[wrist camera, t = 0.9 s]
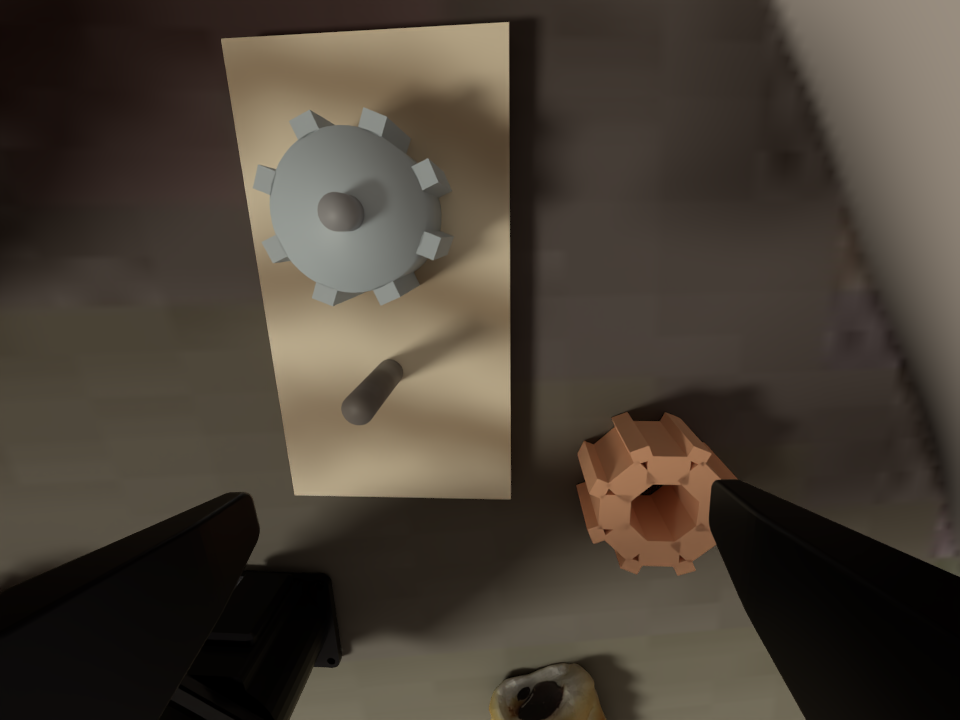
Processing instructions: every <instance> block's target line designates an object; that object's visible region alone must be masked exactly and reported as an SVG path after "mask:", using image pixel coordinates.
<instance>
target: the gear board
mask: <svg viewBox="0 0 960 720" xmlns="http://www.w3.org/2000/svg"><path fill="white" fill-rule="evenodd" d="M221 42H222V49H223V55H224V61H225V67H226V73H227V80H228V86H229V92H230V98H231V104H232V110H233V117H234V123H235V129H236V135H237V141H238V148H239V154H240V160H241V166H242V172H243V178H244V185H245V191H246V197H247V203H248V209H249V216H250V222H251V228H252V234H253V240H254V247H255V253H256V259H257V265H258V271H259V277H260V284H261V290H262V296H263V302H264V308H265V315H266V321H267V327H268V333H269V339H270V346H271V352H272V358H273V364H274V370H275V376H276V383H277V389H278V395H279V401H280V407H281V414H282V420H283V426H284V432H285V438H286V444H287V451H288V457H289V463H290V469H291V475H292V482H293V488H294V494H295V495H310V496H360V497H411V498H462V499H511V383H510V129H509V22H501V23H484V24H467V25H449V26H432V27H415V28H398V29H380V30H363V31H346V32H329V33H312V34H294V35H277V36H260V37H243V38H225V39H221ZM363 107H364V108H367V109H369V110H372V111H374V112H377V113H379V114H381V115H384V116H386V117H388V118H389V119H390V120H391V121H392V122H393V123H394V124H395V125H397V126H398V127H399V128H400V129H401V130H402V131H403V132H404V133H405V134H406V135H408V136H409V137H410V138H411V140H410V143H409V147H408V150H407V153H406V154H407V155H408V156H410V157H411V158H412V159H414V160H415V161H416V162H417V163H419V162H421V161H423V160H425V159H427V158H428V159H430V160H431V161H432V162H433V163H434V164H435V165H437V166H438V167H439V168H440V169H441V170H442V171H444V173H445V176H446V178H447V180H448V183H449V185H450V187H451V190H452V192H450V193H447V194H445V195H443V196H441V197H439V201H440V205H441V214H442V215H441V230H440V231H442V232H444V233H446V234H449V235H451V236H454V238H453V241H452V243H451V246H450V249H449V252H448V255H446V256H443V257H441V258H438V259H435V260H431V259H429V258H428V259H427V261H426V262H425V263H424V264H423V265H422V266H421V267H420V268H419V269H417V270H416V271H415V272H414V274H415V276H416V278H417V280H418V282H419V284H420V285H419V286H418V287H416V288H414V289H413V290H411V291H409V292H408V293H406V294H404V295H403V296H401V297H399V298H397V299H395V300H392V301H390V302H388V303H386V304H384V305H380V303H379V301H378V299H377V297H376V295H375V293H374V291H373V290H371V291H367V292H364V293H363V294H361V295H358V296H356V297H354V298H351V299H349V300H347V301H344V302H342V303H339V304H337V305H335V306H331V305H328V304H325V303H323V302H320V301H318V300H315V299H313V298H312V296H313V292H314V288H315V285H316V282H315V281H313V280H311V279H310V278H308V277H307V276H306V275H305V274H303V273H302V272H301V271H300V270H299V269H298V268H297V267H296V266H295V265H294V264H293V263H292V262H291V261H287V262H280V263H273V262H272V261H271V259H270V257H269V255H268V253H267V251H266V250H265V248H264V246H263V244H262V241H264V240H266V239H268V238H270V237H272V236H274V235H276V234H275V231H274V228H273V224H272V220H271V215H270V195H269V194H266V193H264V192H261V191H259V190H256V189H254V188H253V185H254V181H255V176H256V171H257V167H258V164H259V165H263V166H266V167H270V168H274V169H276V168H277V166H278V164H279V162H280V160H281V159H282V157H283V156H284V154H285V153H286V152H287V150H288V149H289V148H290V147H291V146H292V145H293V144H294V143H295V142H296V141H297V140H298V139H297V137H296V135H295V133H294V131H293V129H292V127H291V125H290V123H289V121H290V120H292V119H293V118H295V117H297V116H299V115H301V114H302V113H304V112H306V111H308V110H311V111H313V112H315V113H316V114H318V115H320V116H321V117H323V118H325V119H326V120H328V121H330V122H331V123H333V124H335V125H350V126H356V127H358V125H359V122H360V118H361V114H362V110H363Z"/></svg>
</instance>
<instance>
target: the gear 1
mask: <svg viewBox="0 0 960 720" xmlns="http://www.w3.org/2000/svg"><path fill="white" fill-rule="evenodd" d="M289 123H290V125H291V127H292V129H293V131H294V133H295V135H296V137H297V139H298V140H297V141H296V142H295V143H294V144H293V145H292V146H291V147H290V148H289V149H288V150H287V152H286V153H285V154H284V156H283V157H282V159H281V160H280V162H279V164H278V166H277V168H276V169H274V168H270V167H266V166H263V165H259V164H258V167H257V171H256V176H255V181H254V185H253V188H254V189H256V190H259V191H261V192H264V193H266V194H269V195H270V215H271V220H272V224H273V228H274V231H275V234H276V235H274V236H272V237H270V238H268V239H266V240H264V241H262V244H263V246H264V248H265V250H266V251H267V253H268V255H269V257H270V259H271V261H272V262H273V263H280V262H287V261H291V262H292V263H293V264H294V265H295V266H296V267H297V268H298V269H299V270H300V271H301V272H302V273H303V274H305V275H306V276H307V277H308V278H310V279H311V280H313V281H315V282H316V285H315V288H314V292H313V296H312V298H313V299H315V300H318V301H320V302H323V303H325V304H328V305H331V306H335V305H337V304H339V303H342V302H344V301H347V300H349V299H351V298H354V297H356V296H358V295H361V294H363V293H364V292H367V291H371V290H373V291H374V293H375V295H376V297H377V299H378V301H379V303H380V305H384V304H386V303H388V302H390V301H392V300H395V299H397V298H399V297H401V296H403V295H404V294H406V293H408V292H409V291H411V290H413V289H414V288H416V287H418V286H419V285H420V284H419V282H418V280H417V278H416V276H415V274H414V272H415V271H416V270H417V269H419V268H420V267H421V266H422V265H423V264H424V263H425V262H426V261H427V259H428V258H429V259H431V260H435V259H438V258H441V257H443V256H446V255H448V252H449V249H450V246H451V243H452V241H453V238H454V236H451V235H449V234H446V233H444V232H442V231H440V230H441V215H442V214H441V205H440V201H439V197H441V196H443V195H445V194H447V193H450V192H452V190H451V187H450V185H449V183H448V180H447V178H446V176H445V173H444V171H442V170H441V169H440V168H439V167H438V166H437V165H435V164H434V163H433V162H432V161H431V160H430V159H428V158H427V159H425V160H423V161H421V162H419V163H417V162H416V161H415V160H414V159H412V158H411V157H410V156H408V155H407V154H406V153H407V150H408V147H409V143H410V140H411V138H410V137H409V136H408V135H406V134H405V133H404V132H403V131H402V130H401V129H400V128H399V127H398V126H397V125H395V124H394V123H393V122H392V121H391V120H390V119H389V118H388V117H386V116H384V115H381V114H379V113H377V112H374V111H372V110H369V109H367V108H364V107H363V110H362V114H361V118H360V122H359V125H358V127H356V126H350V125H335V124H333V123H331V122H330V121H328V120H326V119H325V118H323V117H321V116H320V115H318V114H316V113H315V112H313V111H311V110H308V111H306V112H304V113H302V114H301V115H299V116H297V117H295V118H293V119H292V120H290V121H289Z"/></svg>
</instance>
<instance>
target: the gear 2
mask: <svg viewBox="0 0 960 720" xmlns="http://www.w3.org/2000/svg"><path fill="white" fill-rule="evenodd" d="M612 421H613V423H614V426H615V427H614V428H613V429H611V430H610V431H609V432H608V433H607V434H605V435H604V436H603V437H602V438H601V439H600V440H598V441H597V442H596V443H595V444H591V443H589V442H586V441H584V442H583V444H582V446H581V448H580V450H579V452H578V454H577V455H578V458H579V462H580V465H581V468H582V472H583V475H584V479H585V482H583V483H581V484H578V485H576V487H577V491H578V495H579V499H580V503H581V507H582V511H583V515H584V519H585V523H586V527H587V530H588V533H589V535H590V537H591V539H592V542H593V544H595V543H598V542H601V541H604V540H605V541H606V542H607V543H608V544H609V545H610V546H611V547H613V548H614V550H615V553H616V556H617V559H618V562H619V565H620V568H621V569H624V570H626V571H629V572H632V573H634V574H638V572H639V570H640V569H641V567H642V566H668V567H674V569H675V571H676V573H677V575H678V576H679V575H682V574H685V573H689V572H692V571H696V570H695V568H694V565H693V562H692V561H694V560H695V559H696V558H698V557H699V556H701V555H702V554H704V553H705V552H706V551H708V550H709V549H711V548H712V547H714V546H715V545H716V542H715V540H714V538H713V535H712V533H711V530H710V527H709V507H710V495H711V486H712V484H713V482H714V481H715V480H720V479H737V478H736V477H735V475H734V474H733V473H732V472H731V471H730V470H729V469H728V468H727V467H726V466H725V464H724V463H723V462H722V461H721V460H720V459H719V458H718V457H717V456H716V455H715V453H714V452H713V451H712V450H711V449H710V448H709V447H708V446H707V445H706V444H705V442H701V441H700V440H699V438H698V437H697V436H696V435H695V434H694V433H693V432H692V431H691V429H690V428H689V427H688V426H687V425H686V424H685V423H684V422H683V421H682V419H681V418H679V417H676V416H674V415H671V414H669V413H666V412H665V413H664V415H663V416H662V418H661V420H660V421H633V420H632V418H631V417H630V415H629V414H628V412H625V413H623V414H620V415H617V416H614V417H612ZM737 480H738V479H737ZM653 484H659V485H663V486H662V487H660V488H659V489H658V490H657V491H655V492H654V493H653V494H651V495H640V494H641V493H642V492H644V491H645V490H646V489H648V488H649V487H650V486H651V485H653Z"/></svg>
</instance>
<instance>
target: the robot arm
mask: <svg viewBox="0 0 960 720" xmlns="http://www.w3.org/2000/svg"><path fill="white" fill-rule="evenodd" d="M709 527H710V530H711V533H712V535H713V538H714V540H715V542H716V545H717V547H718V549H719V552H720V554H721V556H722V559H723V561H724V563H725V566H726V568H727V570H728V573H729V575H730V577H731V580H732V582H733V584H734V587H735V589H736V591H737V593H738V596H739V598H740V600H741V602H742V605H743V607H744V609H745V611H746V613H747V615H748V617H749V618H750V620H751V622H752V624H753V626H754V628H755V629H756V631H757V633H758V635H759V637H760V638H761V640H762V642H763V644H764V646H765V647H766V649H767V651H768V653H769V654H770V656H771V658H772V660H773V662H774V663H775V665H776V667H777V669H778V671H779V672H780V674H781V676H782V678H783V680H784V681H785V683H786V685H787V687H788V688H789V690H790V692H791V694H792V696H793V697H794V699H795V701H796V703H797V705H798V706H799V708H800V710H801V712H802V714H803V715H804V717H805V719H806V720H960V577H958V576H956V575H954V574H952V573H949V572H947V571H945V570H943V569H940V568H938V567H936V566H933V565H931V564H929V563H927V562H924V561H922V560H920V559H918V558H915V557H913V556H911V555H908V554H906V553H904V552H902V551H899V550H897V549H895V548H893V547H890V546H888V545H886V544H884V543H881V542H879V541H877V540H874V539H872V538H870V537H868V536H865V535H863V534H861V533H859V532H856V531H854V530H852V529H849V528H847V527H845V526H843V525H840V524H838V523H836V522H834V521H831V520H829V519H827V518H824V517H822V516H820V515H818V514H815V513H813V512H811V511H809V510H806V509H804V508H802V507H800V506H797V505H795V504H793V503H790V502H788V501H786V500H784V499H781V498H779V497H777V496H775V495H772V494H770V493H768V492H765V491H763V490H761V489H759V488H756V487H754V486H752V485H750V484H747V483H745V482H743V481H740V480H737V479H720V480H715V481H714V482H713V484H712V486H711V495H710V507H709ZM259 533H260V527H259V522H258V518H257V514H256V510H255V505H254V501H253V498H252V496H251V495H250V494H249V493H247V492H230V493H226V494H224V495H221V496H219V497H217V498H214V499H212V500H210V501H208V502H205V503H203V504H201V505H198V506H196V507H194V508H192V509H189V510H187V511H185V512H182V513H180V514H178V515H175V516H173V517H171V518H169V519H166V520H164V521H162V522H159V523H157V524H155V525H153V526H150V527H148V528H146V529H143V530H141V531H139V532H137V533H134V534H132V535H130V536H127V537H125V538H123V539H121V540H118V541H116V542H114V543H111V544H109V545H107V546H105V547H102V548H100V549H98V550H95V551H93V552H91V553H89V554H86V555H84V556H82V557H79V558H77V559H75V560H73V561H70V562H68V563H66V564H63V565H61V566H59V567H57V568H54V569H52V570H50V571H47V572H45V573H43V574H41V575H38V576H36V577H34V578H31V579H29V580H27V581H25V582H22V583H20V584H18V585H15V586H13V587H11V588H9V589H6V590H4V591H2V592H1V593H0V720H290V717H291V715H292V713H293V711H294V709H295V706H296V704H297V702H298V700H299V698H300V695H301V693H302V691H303V689H304V687H305V684H306V682H307V680H308V678H309V676H310V673H311V671H312V669H313V667H329V668H333V667H337V666H338V665H339V663H340V661H341V658H342V653H341V646H340V639H339V632H338V625H337V618H336V611H335V604H334V597H333V591H332V584H331V579H330V578H329V577H328V576H327V575H325V574H319V573H289V572H258V571H243V570H244V568H245V566H246V564H247V561H248V559H249V557H250V555H251V553H252V551H253V549H254V547H255V545H256V543H257V541H258V538H259ZM320 583H322V584H320Z"/></svg>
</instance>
